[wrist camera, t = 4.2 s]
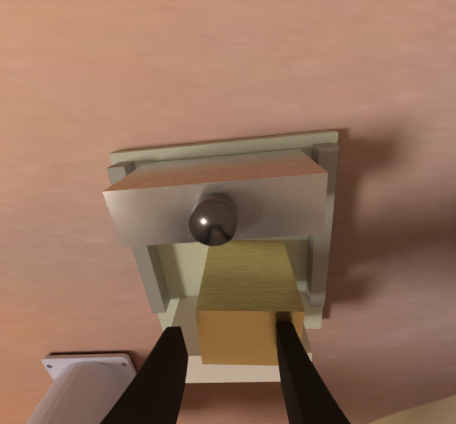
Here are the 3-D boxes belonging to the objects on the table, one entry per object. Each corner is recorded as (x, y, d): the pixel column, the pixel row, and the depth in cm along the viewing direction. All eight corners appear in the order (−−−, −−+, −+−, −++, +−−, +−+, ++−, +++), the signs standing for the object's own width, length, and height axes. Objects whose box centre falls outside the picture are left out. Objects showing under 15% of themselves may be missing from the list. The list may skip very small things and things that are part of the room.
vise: (317, 319, 19) (344, 394, 14) (166, 324, 20) (143, 396, 15) (332, 129, 13) (388, 147, 8) (115, 151, 14) (50, 177, 9)
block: (279, 284, 16) (297, 366, 11) (213, 284, 16) (202, 364, 11) (282, 240, 15) (305, 311, 10) (209, 240, 15) (195, 310, 10)
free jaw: (297, 193, 13) (332, 248, 8) (155, 204, 14) (109, 262, 9) (298, 148, 12) (339, 182, 7) (145, 162, 13) (87, 202, 8)
